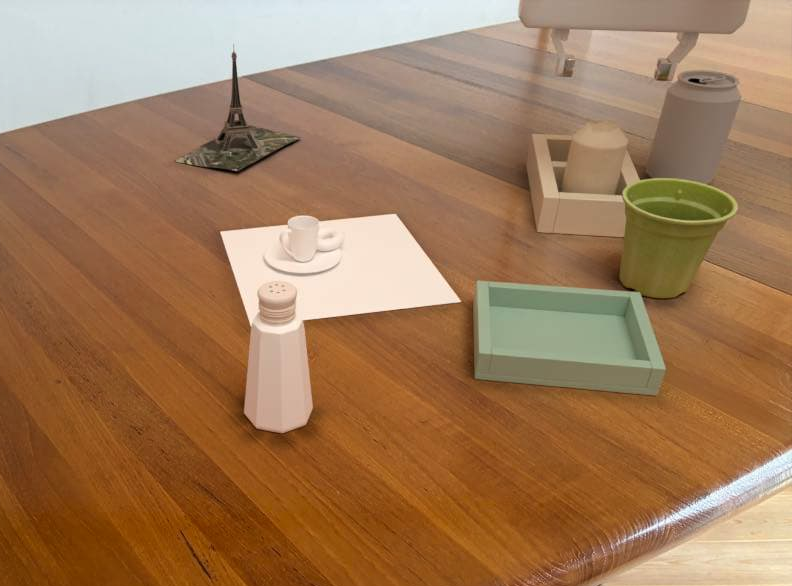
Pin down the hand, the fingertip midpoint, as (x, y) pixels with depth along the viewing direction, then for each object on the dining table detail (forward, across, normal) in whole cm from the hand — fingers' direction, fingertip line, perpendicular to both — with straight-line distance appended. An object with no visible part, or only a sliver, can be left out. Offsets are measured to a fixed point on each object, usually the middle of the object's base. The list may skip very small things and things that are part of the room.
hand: (612, 77), depth 82 cm
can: (+15, -12, -12) cm, 22 cm away
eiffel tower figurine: (+15, +42, -14) cm, 47 cm away
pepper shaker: (+15, +27, +41) cm, 51 cm away
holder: (+15, 0, -4) cm, 15 cm away
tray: (+15, +5, +28) cm, 32 cm away
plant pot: (+15, -5, +15) cm, 22 cm away
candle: (+15, 0, 0) cm, 15 cm away
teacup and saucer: (+15, +26, +16) cm, 34 cm away
